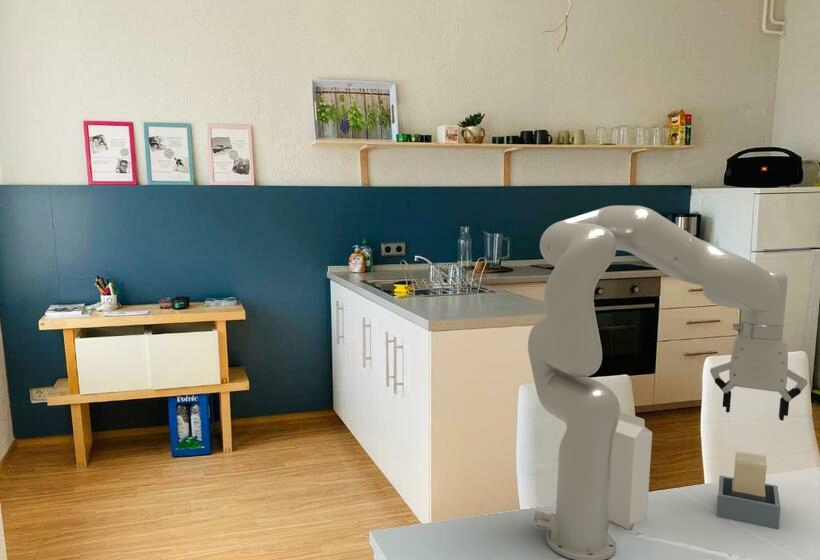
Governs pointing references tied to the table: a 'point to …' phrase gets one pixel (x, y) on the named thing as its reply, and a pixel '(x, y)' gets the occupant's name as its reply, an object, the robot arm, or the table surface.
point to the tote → (748, 505)
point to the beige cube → (750, 473)
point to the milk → (630, 471)
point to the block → (747, 495)
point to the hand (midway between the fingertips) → (754, 414)
